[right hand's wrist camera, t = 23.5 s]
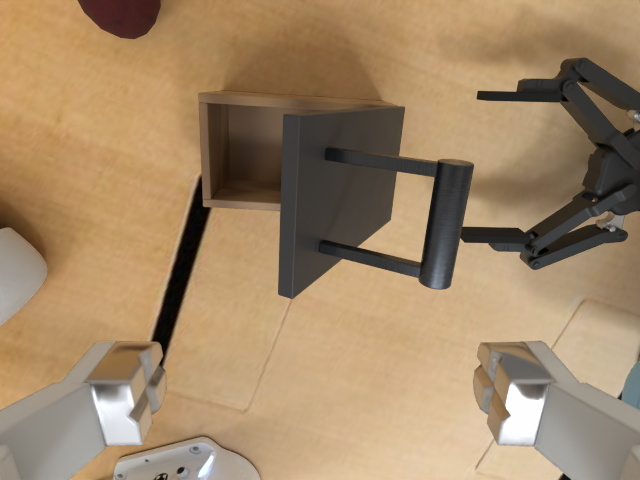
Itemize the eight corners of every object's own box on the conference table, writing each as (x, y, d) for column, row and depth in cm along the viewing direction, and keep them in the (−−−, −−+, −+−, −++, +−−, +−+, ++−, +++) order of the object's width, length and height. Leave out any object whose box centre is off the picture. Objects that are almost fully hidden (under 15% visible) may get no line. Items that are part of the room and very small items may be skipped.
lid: (277, 295, 24) (431, 344, 20) (282, 113, 20) (470, 133, 17) (380, 218, 39) (479, 238, 35) (393, 105, 36) (506, 115, 32)
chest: (224, 183, 48) (202, 206, 39) (222, 90, 44) (197, 93, 35) (373, 192, 48) (384, 217, 39) (383, 100, 45) (398, 105, 36)
